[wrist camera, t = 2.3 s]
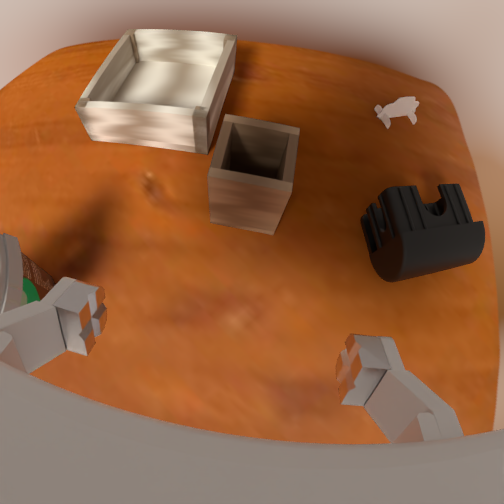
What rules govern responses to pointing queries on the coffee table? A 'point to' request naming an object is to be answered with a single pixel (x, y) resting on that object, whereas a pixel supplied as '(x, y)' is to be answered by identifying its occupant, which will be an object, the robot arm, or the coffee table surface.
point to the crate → (160, 89)
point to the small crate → (252, 173)
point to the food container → (20, 276)
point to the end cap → (420, 233)
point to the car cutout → (398, 110)
